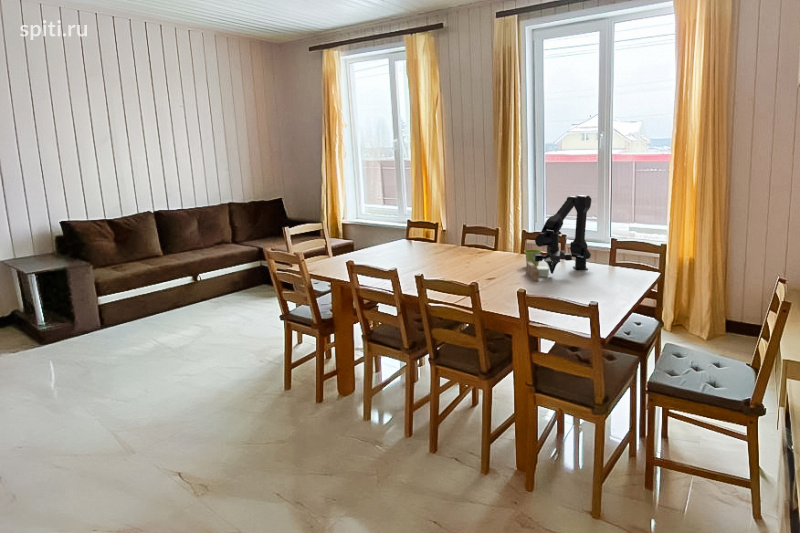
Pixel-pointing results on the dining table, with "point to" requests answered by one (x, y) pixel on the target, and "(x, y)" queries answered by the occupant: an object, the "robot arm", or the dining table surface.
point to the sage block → (543, 270)
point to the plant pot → (531, 256)
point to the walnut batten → (532, 271)
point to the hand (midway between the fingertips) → (551, 273)
